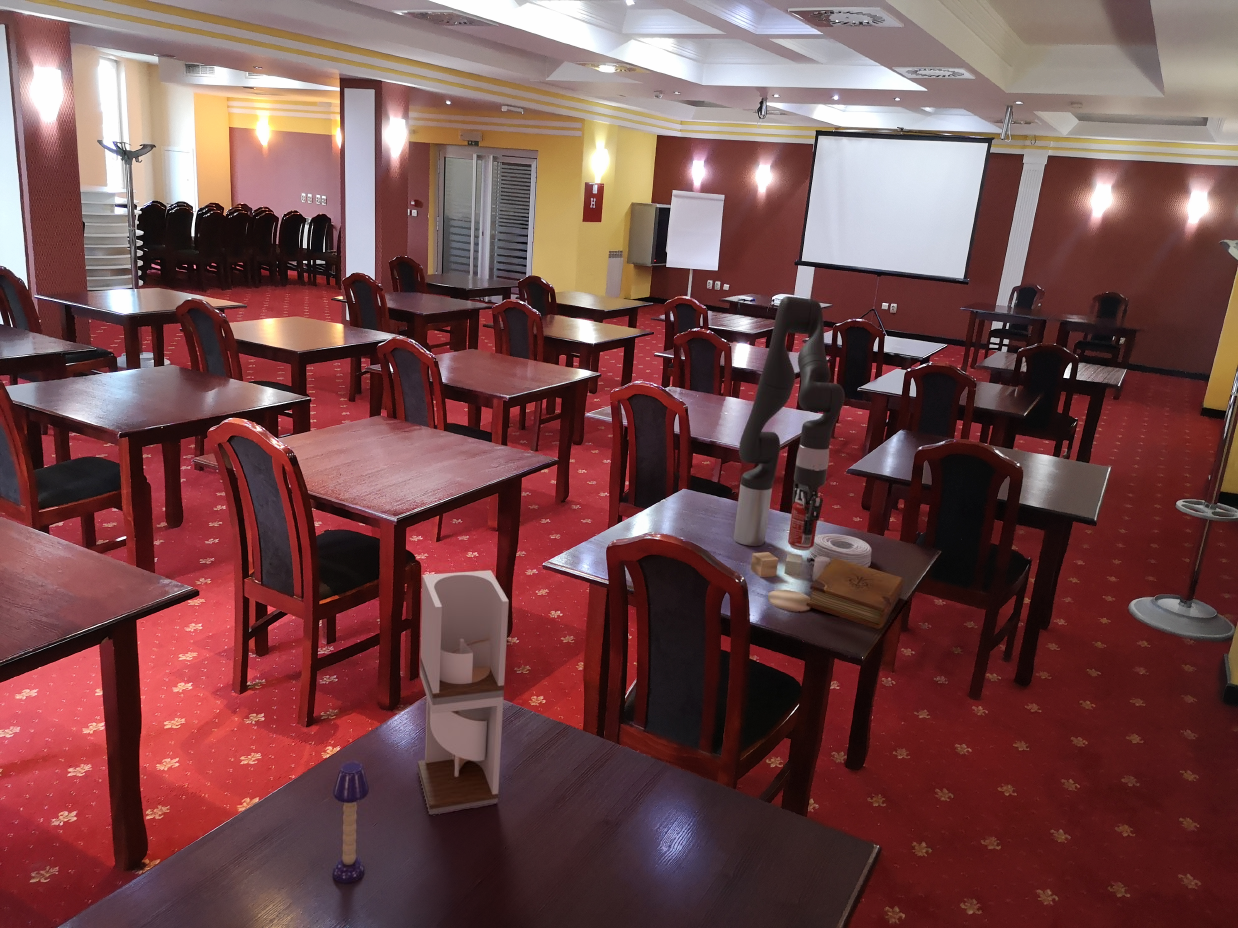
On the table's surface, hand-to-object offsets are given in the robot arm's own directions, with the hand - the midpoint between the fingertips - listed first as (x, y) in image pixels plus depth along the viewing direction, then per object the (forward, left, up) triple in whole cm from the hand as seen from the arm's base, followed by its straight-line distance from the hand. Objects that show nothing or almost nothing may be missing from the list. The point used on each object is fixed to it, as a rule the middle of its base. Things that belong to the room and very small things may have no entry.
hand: (802, 529), depth 220 cm
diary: (0, +16, -19) cm, 25 cm away
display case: (+72, -81, -19) cm, 110 cm away
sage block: (-20, +7, -19) cm, 29 cm away
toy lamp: (+90, -95, -19) cm, 132 cm away
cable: (-28, +24, -20) cm, 42 cm away
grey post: (-14, +13, -19) cm, 27 cm away
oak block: (-18, -2, -19) cm, 26 cm away
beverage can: (0, 0, -5) cm, 5 cm away
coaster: (0, -1, -19) cm, 19 cm away
